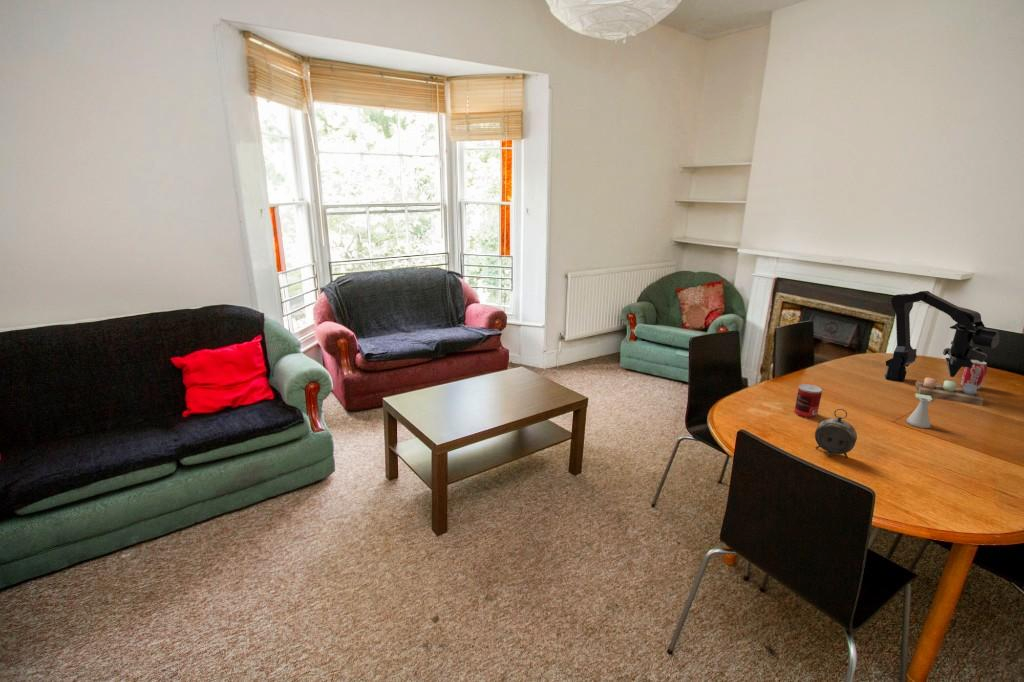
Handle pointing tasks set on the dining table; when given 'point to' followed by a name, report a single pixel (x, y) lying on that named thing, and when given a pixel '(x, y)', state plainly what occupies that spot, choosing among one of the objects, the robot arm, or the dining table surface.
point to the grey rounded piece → (969, 389)
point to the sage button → (949, 386)
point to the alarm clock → (835, 436)
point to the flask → (920, 415)
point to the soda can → (975, 374)
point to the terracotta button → (929, 383)
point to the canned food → (808, 400)
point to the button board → (949, 394)
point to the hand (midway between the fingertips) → (951, 376)
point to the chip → (923, 396)
